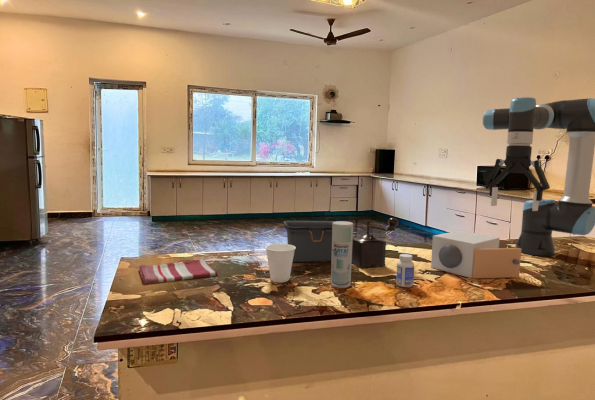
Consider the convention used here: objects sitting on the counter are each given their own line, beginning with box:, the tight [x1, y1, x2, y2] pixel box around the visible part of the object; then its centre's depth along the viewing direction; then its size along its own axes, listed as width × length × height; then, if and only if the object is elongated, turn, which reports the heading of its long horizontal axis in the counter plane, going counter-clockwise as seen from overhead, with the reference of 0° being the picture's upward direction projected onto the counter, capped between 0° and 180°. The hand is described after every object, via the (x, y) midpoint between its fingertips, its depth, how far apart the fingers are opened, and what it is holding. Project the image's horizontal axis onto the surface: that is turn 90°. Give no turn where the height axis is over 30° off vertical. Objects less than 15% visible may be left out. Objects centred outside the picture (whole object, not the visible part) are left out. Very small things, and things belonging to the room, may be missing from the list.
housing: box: [430, 230, 500, 279], centre depth 156 cm, size 20×16×12 cm
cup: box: [264, 243, 296, 284], centre depth 138 cm, size 10×10×11 cm
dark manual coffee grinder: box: [351, 217, 400, 269], centre depth 160 cm, size 16×11×18 cm
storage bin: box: [283, 220, 334, 263], centre depth 164 cm, size 21×16×14 cm
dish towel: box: [139, 259, 219, 285], centre depth 144 cm, size 17×23×3 cm
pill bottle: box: [395, 253, 415, 288], centre depth 136 cm, size 5×5×10 cm
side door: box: [471, 247, 522, 279], centre depth 145 cm, size 17×2×10 cm, turn 99°
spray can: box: [330, 220, 354, 289], centre depth 134 cm, size 6×6×20 cm
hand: (513, 208), depth 144 cm, fingers open, 13 cm apart
